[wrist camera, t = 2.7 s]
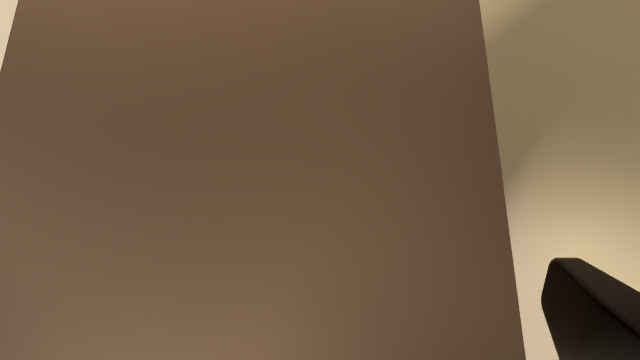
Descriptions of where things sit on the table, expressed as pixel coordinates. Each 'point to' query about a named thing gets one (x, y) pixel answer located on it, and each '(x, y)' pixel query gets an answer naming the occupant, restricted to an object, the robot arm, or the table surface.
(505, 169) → the table surface
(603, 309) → the robot arm
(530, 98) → the table surface
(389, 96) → the brown tall block
